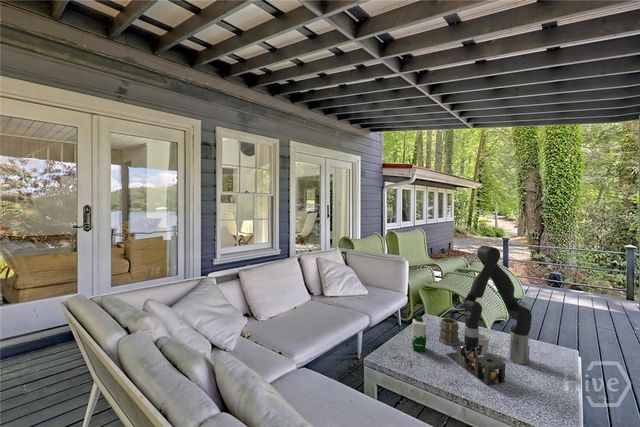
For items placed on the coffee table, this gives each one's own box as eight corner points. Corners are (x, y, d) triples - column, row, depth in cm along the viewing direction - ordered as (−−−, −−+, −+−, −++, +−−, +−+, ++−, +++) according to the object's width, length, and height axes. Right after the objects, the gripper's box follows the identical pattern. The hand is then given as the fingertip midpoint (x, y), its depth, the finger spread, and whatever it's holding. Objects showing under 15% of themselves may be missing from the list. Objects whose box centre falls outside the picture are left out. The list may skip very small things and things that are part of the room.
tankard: (439, 335, 227) (439, 314, 226) (458, 338, 222) (459, 317, 221) (438, 348, 208) (439, 325, 207) (459, 351, 204) (460, 328, 203)
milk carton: (425, 346, 211) (425, 316, 209) (426, 353, 202) (427, 321, 201) (411, 344, 213) (411, 315, 211) (411, 351, 204) (412, 320, 203)
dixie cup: (480, 348, 208) (481, 333, 208) (492, 354, 201) (492, 338, 200) (471, 350, 205) (471, 335, 205) (482, 356, 197) (482, 340, 197)
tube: (462, 360, 190) (462, 352, 190) (469, 359, 192) (469, 351, 191) (490, 381, 169) (490, 372, 169) (498, 380, 170) (498, 371, 170)
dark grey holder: (445, 354, 200) (446, 338, 199) (461, 352, 203) (462, 336, 202) (487, 386, 167) (488, 367, 166) (505, 383, 170) (506, 364, 169)
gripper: (477, 330, 191) (476, 358, 192) (456, 332, 188) (455, 361, 189) (486, 335, 184) (485, 364, 185) (465, 338, 181) (464, 367, 182)
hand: (470, 362), depth 187 cm, fingers closed on tube, 5 cm apart
